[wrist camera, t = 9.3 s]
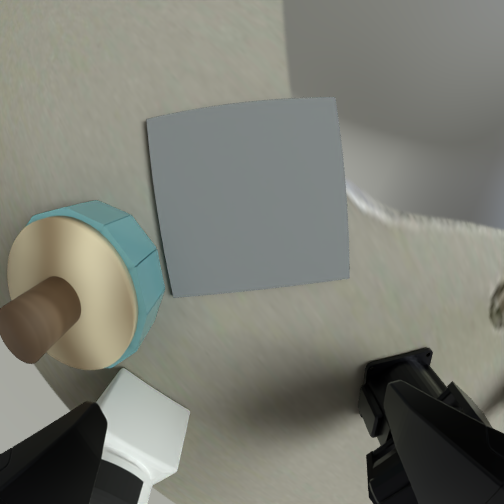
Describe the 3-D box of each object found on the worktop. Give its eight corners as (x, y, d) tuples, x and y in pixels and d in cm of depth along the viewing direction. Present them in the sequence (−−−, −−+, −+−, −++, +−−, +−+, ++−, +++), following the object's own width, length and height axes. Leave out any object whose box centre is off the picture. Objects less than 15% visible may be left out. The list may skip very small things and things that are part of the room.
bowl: (147, 189, 18) (122, 194, 14) (177, 337, 21) (163, 369, 17) (31, 216, 18) (-2, 225, 14) (65, 338, 21) (42, 362, 17)
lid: (116, 200, 14) (57, 216, 9) (157, 362, 17) (130, 424, 11) (2, 230, 15) (-53, 250, 9) (44, 358, 17) (6, 399, 12)
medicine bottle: (95, 402, 23) (46, 492, 11) (123, 364, 22) (62, 473, 10) (155, 440, 24) (127, 535, 13) (192, 409, 23) (168, 526, 11)
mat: (333, 98, 17) (335, 97, 16) (347, 276, 20) (349, 278, 19) (148, 120, 17) (146, 119, 16) (175, 295, 20) (173, 297, 20)
